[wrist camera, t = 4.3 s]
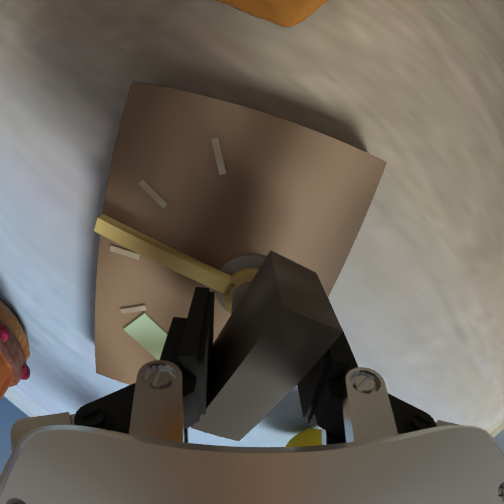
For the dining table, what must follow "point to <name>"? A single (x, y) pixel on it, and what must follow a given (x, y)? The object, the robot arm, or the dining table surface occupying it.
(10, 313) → the orange lumpy cylinder
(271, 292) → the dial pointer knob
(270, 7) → the coffee package
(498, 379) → the dining table surface
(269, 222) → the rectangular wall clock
